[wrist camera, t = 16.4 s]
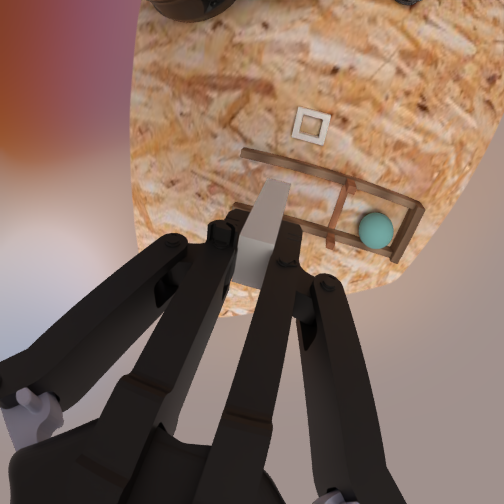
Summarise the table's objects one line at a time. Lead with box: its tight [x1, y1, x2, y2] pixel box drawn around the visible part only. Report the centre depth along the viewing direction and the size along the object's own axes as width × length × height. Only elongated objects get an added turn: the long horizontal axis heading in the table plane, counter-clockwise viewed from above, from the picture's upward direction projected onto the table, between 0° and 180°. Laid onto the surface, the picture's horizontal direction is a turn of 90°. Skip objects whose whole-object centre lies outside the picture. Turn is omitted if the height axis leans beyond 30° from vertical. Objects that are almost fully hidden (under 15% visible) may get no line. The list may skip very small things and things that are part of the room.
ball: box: [359, 212, 393, 249], centre depth 41 cm, size 6×6×6 cm
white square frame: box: [292, 106, 331, 146], centre depth 37 cm, size 5×5×2 cm
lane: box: [232, 147, 425, 264], centre depth 42 cm, size 31×11×5 cm, turn 80°
